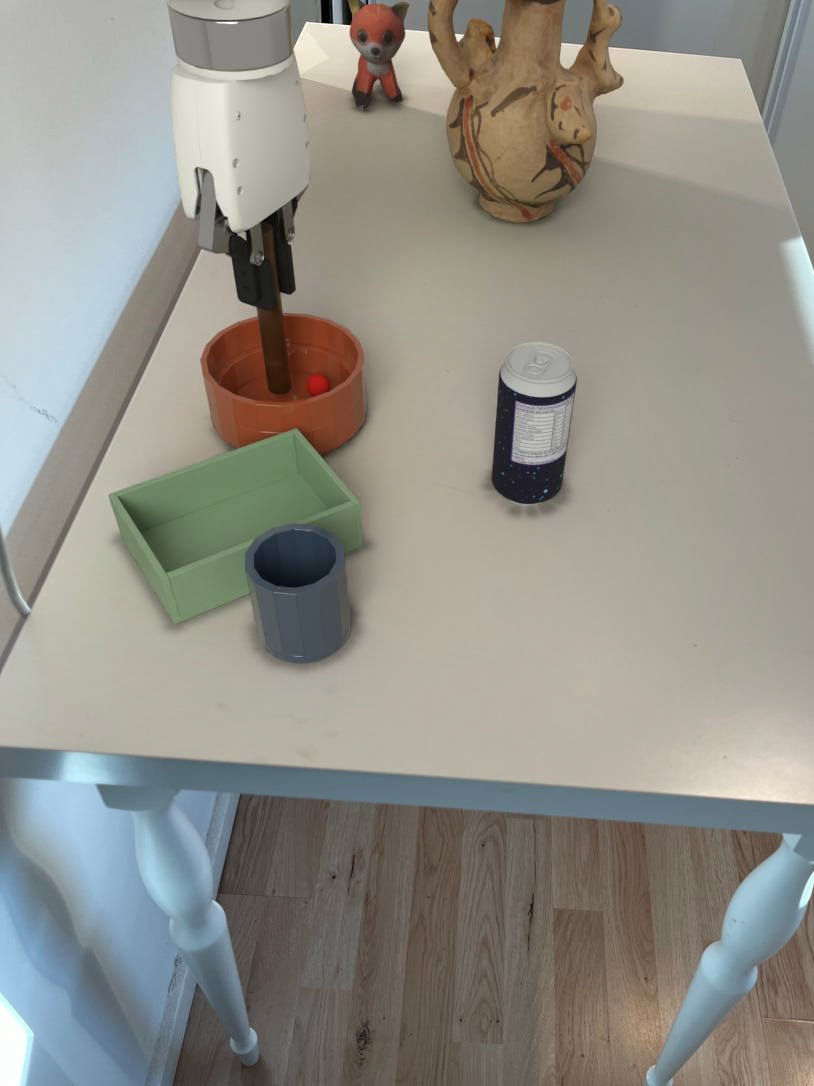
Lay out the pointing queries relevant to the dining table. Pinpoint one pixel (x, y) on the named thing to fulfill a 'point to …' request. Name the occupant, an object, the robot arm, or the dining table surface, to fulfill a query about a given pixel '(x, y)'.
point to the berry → (318, 385)
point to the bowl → (312, 349)
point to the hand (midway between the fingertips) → (267, 295)
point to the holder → (299, 592)
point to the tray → (228, 518)
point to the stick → (274, 326)
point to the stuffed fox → (376, 47)
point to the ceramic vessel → (523, 102)
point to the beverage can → (533, 422)
